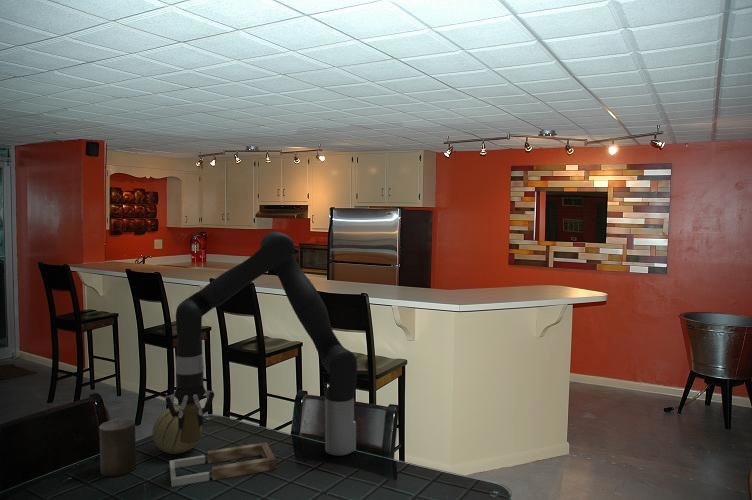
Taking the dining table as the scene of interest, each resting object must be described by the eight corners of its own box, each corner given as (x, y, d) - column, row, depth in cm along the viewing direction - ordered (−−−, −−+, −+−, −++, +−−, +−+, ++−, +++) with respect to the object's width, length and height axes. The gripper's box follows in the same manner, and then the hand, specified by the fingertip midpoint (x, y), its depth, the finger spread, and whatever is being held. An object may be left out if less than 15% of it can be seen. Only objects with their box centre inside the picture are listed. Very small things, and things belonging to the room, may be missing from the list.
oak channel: (266, 451, 174) (266, 442, 174) (275, 469, 162) (275, 459, 162) (207, 460, 167) (207, 451, 167) (212, 480, 155) (212, 469, 155)
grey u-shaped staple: (204, 461, 167) (204, 455, 167) (209, 480, 155) (209, 473, 155) (169, 467, 163) (169, 460, 163) (171, 486, 151) (171, 479, 151)
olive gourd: (194, 444, 155) (194, 406, 154) (175, 442, 156) (175, 404, 155) (205, 435, 161) (205, 399, 160) (187, 434, 162) (186, 397, 161)
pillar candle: (142, 468, 162) (141, 419, 161) (107, 480, 154) (106, 427, 154) (128, 459, 168) (127, 411, 168) (94, 469, 161) (93, 419, 160)
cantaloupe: (146, 450, 174) (145, 404, 173) (190, 438, 184) (190, 395, 183) (164, 466, 163) (163, 417, 162) (210, 452, 173) (209, 406, 172)
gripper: (213, 364, 164) (214, 420, 164) (162, 369, 158) (163, 427, 159) (216, 370, 157) (217, 429, 158) (163, 376, 151) (164, 436, 152)
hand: (190, 428), depth 158 cm, fingers closed on olive gourd, 4 cm apart
